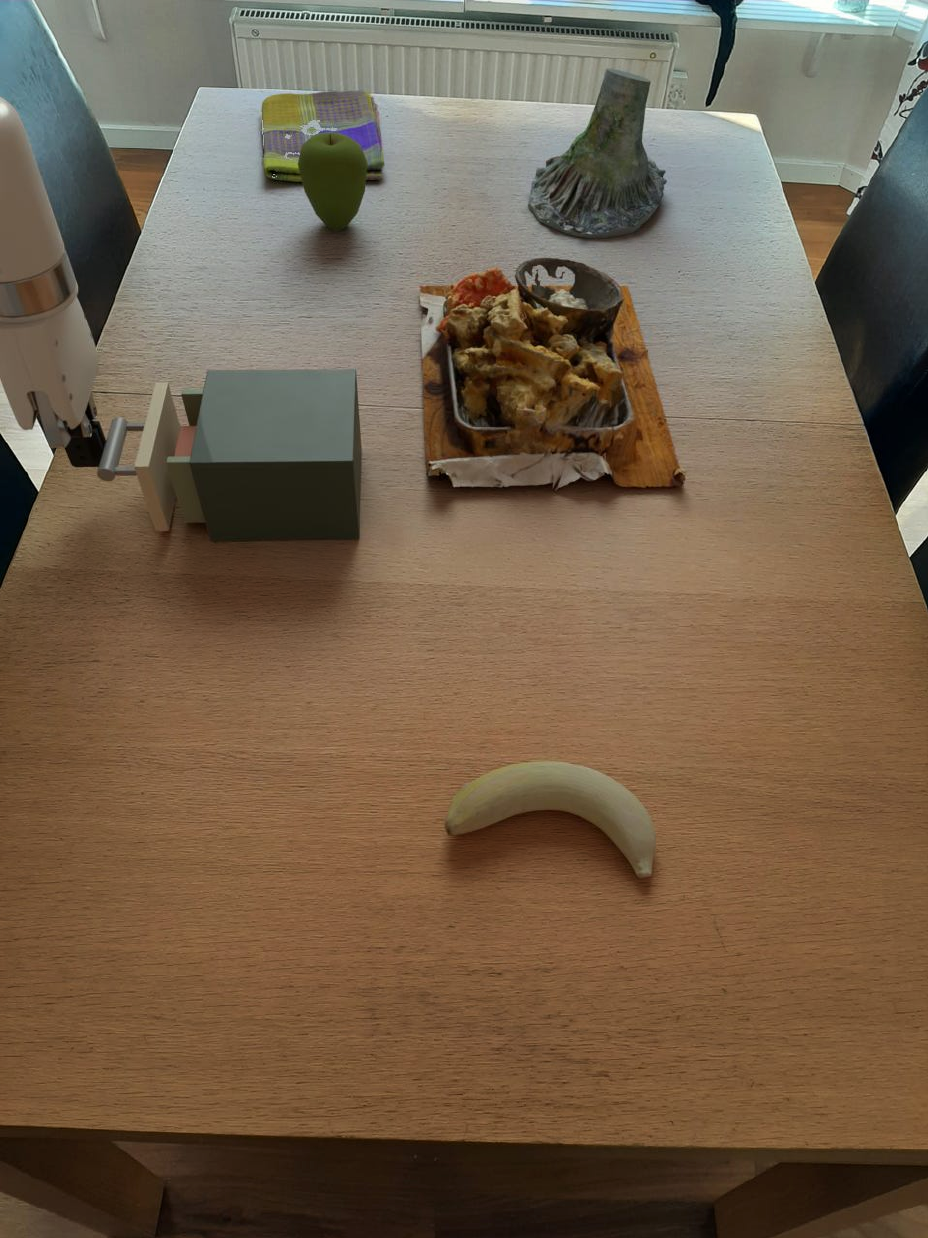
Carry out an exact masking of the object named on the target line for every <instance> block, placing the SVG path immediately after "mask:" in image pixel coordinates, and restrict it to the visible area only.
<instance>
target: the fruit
mask: <svg viewBox="0 0 928 1238" xmlns="http://www.w3.org/2000/svg"><path fill="white" fill-rule="evenodd" d="M546 810H547V811H549V810H550V811H560V812H566V813H570V814H573V815H576V816H579V817H581V818H583V819H584V820H586V821H588V822H589V823H591V824H593V825H595V827H598V829H599V830H601V832H603V833H604V834H605V835H606V836H607V837H608V838H609V839H610V840H611V842H613V843H614V845H615V846H616V847H617V849H618V850H619V851H621V854H622V855H623V856H624V857H625V858H626V859H627V860H628V863H629V864H630V865H631V867H632V869H633V871H634V873H635V875H636V877H637V878H639V879H645V878H649V877H651V876H652V875H653V862H654V858H655V852H656V843H657V842H656V841H657V839H656V837H657V836H656V829H655V825H654V823H653V820H652V817H651V816H650V814H649V812H648V810H647V809H646V807H645V806H644V805H643V803H642V802H641V801H640V800H639V799H638V798H637V796H636V795H634V793H633V792H631V791H630V790H629V789H627V788H626V787H625V786H623V784H621V783H619V782H618V781H616V780H615V779H613V778H612V777H610V776H608V775H607V774H604V773H603V772H600V771H598V770H595V769H593V768H590V767H589V766H588V767H587V766H584V765H580V764H573V763H569V762H566V761H555V760H554V761H553V760H550V761H546V760H544V761H528V762H520V763H515V764H510V765H506V766H503V767H499V768H496V769H494V770H491V771H488V772H487V773H485V774H483V775H481V776H480V777H477V778H475V779H474V780H472V781H470V782H467V783H465V784H464V785H462V787H461V788H460V789H459V790H458V791H457V793H456V794H454V796H453V797H452V799H451V801H450V805H449V807H448V810H447V813H446V816H445V819H444V824H443V825H444V830H445V832H446V834H447V835H448V836H460V835H463V834H468V833H471V832H475V831H478V830H481V829H483V828H486V827H489V826H491V825H494V824H496V823H498V822H501V821H503V820H506V819H508V818H510V817H513V816H516V815H520V814H523V813H530V812H537V811H546Z"/></svg>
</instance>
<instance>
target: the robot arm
mask: <svg viewBox="0 0 928 1238" xmlns="http://www.w3.org/2000/svg"><path fill="white" fill-rule="evenodd" d="M34 154H35V153H34V151H33V148H32V146H31V143H30V140H29V135H28V133H27V130H26V128H25V125H24V123H23V120H22V118H21V116H20V114H19V113H18V111H17V110H16V109H15V108H14V106H13V105H12V104H11V103H10V102H9V101H8V100H7V99H5V98H3V97H2V96H0V383H1V385H2V388H3V390H4V392H5V396H6V398H7V401H8V403H9V406H10V408H11V411H12V413H13V416H14V418H15V420H16V422H17V424H18V426H19V427H20V429H22V430H23V431H28V430H31V431H32V430H33V429H34V427H35V423H36V420H37V418H38V415H39V417H40V421H41V424H42V427H43V431H44V435H45V438H46V442H47V444H48V447H49V448H50V449H55V448H56V449H63V448H64V451H65V453H66V456H67V458H68V461H69V463H70V465H71V466H72V467H73V468H99V464H100V461H101V457H102V454H103V450H104V447H105V443H106V440H107V438H106V436H105V434H104V431H103V428H102V426H101V423H100V420H98V409H97V406H96V402H95V399H94V395H93V392H92V391H93V388H94V385H95V381H96V377H97V375H98V370H99V355H98V351H97V347H96V344H95V340H94V337H93V334H92V331H91V328H90V326H89V323H88V321H87V318H86V315H85V312H84V310H83V307H82V305H81V303H80V300H79V298H78V294H79V286H78V285H79V284H78V282H77V279H76V276H75V273H74V269H73V267H72V264H71V261H70V257H69V255H68V253H67V249H66V247H65V243H64V240H63V237H62V233H61V231H60V228H59V225H58V223H57V219H56V216H55V213H54V210H53V208H52V205H51V202H50V198H49V195H48V192H47V189H46V187H45V183H44V181H43V178H42V175H41V172H40V169H39V166H38V163H37V161H36V157H35V155H34Z"/></svg>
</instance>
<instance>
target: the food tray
mask: <svg viewBox="0 0 928 1238" xmlns="http://www.w3.org/2000/svg"><path fill="white" fill-rule="evenodd" d="M537 266H541V267H543V268H544V269H545V270H546V272H547V275H548V277H550V278H553V279H560V280H563V277H564V274H565V273H566V271H561V276H558V277H557V274H556V273H557V269H558V268H567V269H568V270H570V271H571V272H572V274H573V275H574V282H573V285H541V281H540V280H539V272H538V271H539V269H535V271H536V273H535V275H534V283H535V284H533V283H532V284H531V285H528V284H527V283H528V282H527V278H526V275H525V274H526V273H527V274H528V275H529V276H530V277H532V278H533V269H534V267H537ZM515 269H516V270H515V275H514V278H515V282H516V284H517V285H514V284H512V283H511V281H510V280H509V279H508V278H506V276H505V274H504V273H503V272H502V269H500V268H499V267H494V268H486V270H485V273H484V272H481V273H480V272H474V273H471V274H469V275H467V276H465V278H464V279H462V280H460V281H459V282H458V283H457V284H456V283H451V284H450V285H425V286H424V285H419V300H420V301H419V302H420V303H419V304H420V306H421V307H423V308H426V309H428V310H427V314H423V313H421V315H422V316H421V321H420V323H421V326H420V337H421V357H422V358H421V359H422V361H421V363H422V364H421V369H422V394H423V396H422V397H423V401H422V402H423V412H424V413H423V418H424V419H423V422H424V424H423V426H424V442H425V444H424V445H425V446H424V448H425V449H424V451H425V462H426V463H425V464H426V466H425V468H426V475H425V476H427V477H428V476H429V477H434V478H435V479H436V478H437V479H439V480H442V479H444V477H445V475H446V476H448V479H449V480H450V481H451V484H452V487H453V488H457V487H458V488H460V487H464V488H466V487H471V488H474V487H475V488H476V487H481V488H482V487H483V488H489V487H490V488H495V487H497V488H502V487H504V488H508V487H510V486H511V487H512V486H522V487H523V486H539V485H540V486H541V485H547V484H552V490H553V492H555V493H556V492H557V491H558V489H559V488H562V487H564V486H567V485H569V484H570V483H572V482H576V481H577V480H580V478H582V479H584V480H585V481H588V482H593V481H596V480H597V479H600V478H601V477H602V476H605V473H606V474H607V475H609V474H610V475H611V478H612V480H613V482H614V484H616V485H617V486H619V487H622V488H624V487H625V488H631V487H635V488H643V489H645V488H647V487H649V488H651V487H654V488H656V487H658V488H660V487H665V488H666V487H670V488H671V487H674V486H675V487H679V488H681V487H683V485H684V484H685V482H686V475H688V473H687V470H686V469H684V468H682V467H680V465H679V460H678V458H677V454H676V453H675V452H676V450H675V446H674V442H673V438H672V435H671V432H670V427H669V425H668V421H667V418H666V414H665V411H664V408H663V403H662V400H661V398H660V393H659V391H658V386H657V383H656V378H655V377H654V373H653V369H652V367H651V363H650V362H651V361H650V359H649V355H648V354H649V349H647V348H646V343H645V341H644V338H643V334H642V329H641V328H640V326H641V325H640V321H639V319H638V318H637V313H636V309H635V307H634V306H635V305H634V303H633V299H632V295H631V292H630V288H629V286H628V285H620V284H619V283H618V282H617V281H616V280H615V279H614V278H612V277H611V276H610V275H608V274H607V273H606V272H603V271H601V270H599V269H596V268H594V267H591V266H589V265H587V264H586V263H583V262H578V261H575V260H571V259H563V258H561V259H560V258H558V257H537V258H531V259H528V260H525V261H523V262H522V263H520V264H519V266H517V268H515ZM684 481H685V482H684Z"/></svg>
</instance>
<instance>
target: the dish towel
mask: <svg viewBox="0 0 928 1238" xmlns="http://www.w3.org/2000/svg"><path fill="white" fill-rule="evenodd" d="M378 107H379V106H378V104H377V103H376V102H375V97H374V96H372V95H371V93H370V92H369V91H366V92H365V90H364V89H358V90H357V89H356V90H345V91H338V90H337V91H336V90H331V91H330V90H329V91H318V92H312V93H291V92H290V93H278V94H277V93H276V94H272V95H269V96H267V97H265V99H263V101H262V102H261V112H262V120H263V128H264V130H263V135H264V146H263V138H262V137H261V144H262V148H263V147H264V154H263V153H262V166H263V172H264V174H265V176H267V177H268V176H269V177H268V178H269V179H272V180H278V181H286V182H294V183H295V182H297V183H298V182H299V183H300V182H301V183H302V180H301V176H300V172H299V167H298V162H297V161H298V160H299V156H300V155H298V154H294V155H293V154H288V155H287V158H289V159H286V158H285V157H284V156H285V154H286V152H287V153H288V152H292V153H295V152H296V153H298V152H299V153H300V151H301V147H302V144H304V143H305V142H306V141H307V140H309V139H310V138H311V137H313V136H314V135H310V136H309V135H307V134H306V135H305V134H304V133H303V132H302V131H301V130H302V129H303V128H302V127H300V126H303V125H308V123H309V122H310V121H312V120H316V121H317V120H320V122H318V123H319V125H320V127H321V128H325V130H323V131H320V132H319V133H318V134H320V133H326V132H334V133H340V134H343V135H346V136H348V137H350V138H352V139H353V140H354V141H356V142H357V143H358V144H360V146H361V148H362V149H363V152H364V154H365V157H366V160H367V162H368V165H367V175H366V181H374V180H376V181H377V180H382V179H383V178H382V172H383V169H384V167H385V159H384V155H383V152H382V135H381V132H382V131H381V127H380V117H379V116H380V115H379V109H378ZM260 126H261V128H260V129H261V131H260V132H261V133H260V134H261V135H262V123H261V122H260ZM303 127H304V126H303ZM332 127H333V128H337V130H336V131H331V130H326V128H330V129H331V128H332ZM316 131H317V130H316V129H315V128H314V127H310V128H308V129H307V133H311V134H313V133H315V132H316ZM286 134H288V135H290V136H291V135H292V136H291V137H290V139H287V138H285V136H286ZM315 135H316V134H315ZM263 156H264V157H263ZM290 159H292V160H290ZM294 160H295V161H294ZM273 174H275V175H273ZM272 176H273V177H275V178H271V177H272ZM276 176H277V177H276Z"/></svg>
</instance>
